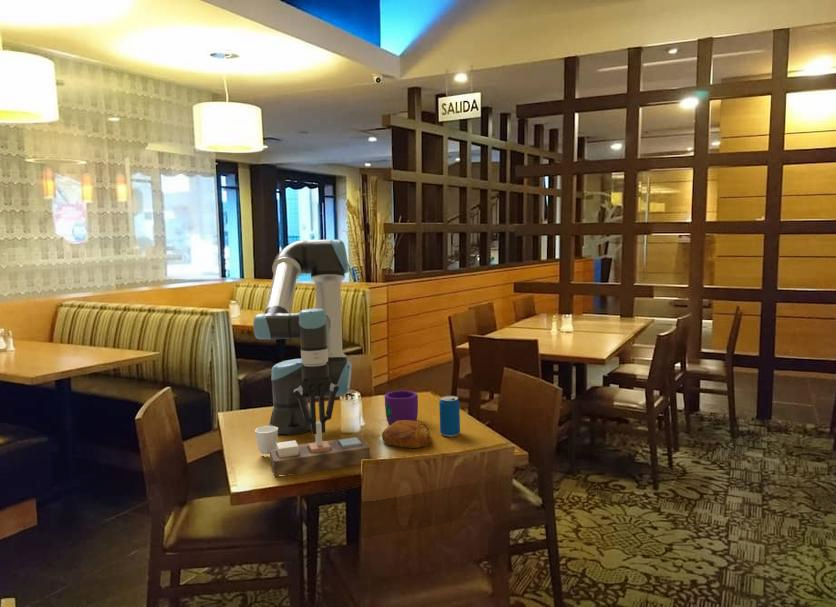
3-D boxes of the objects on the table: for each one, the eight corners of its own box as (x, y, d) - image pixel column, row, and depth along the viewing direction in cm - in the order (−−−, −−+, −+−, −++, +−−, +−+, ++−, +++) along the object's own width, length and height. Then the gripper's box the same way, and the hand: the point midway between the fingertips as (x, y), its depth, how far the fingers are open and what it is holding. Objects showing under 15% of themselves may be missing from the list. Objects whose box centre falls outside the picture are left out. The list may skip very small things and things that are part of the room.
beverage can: (458, 437, 201) (457, 401, 200) (438, 437, 203) (437, 400, 201) (461, 431, 208) (460, 395, 206) (441, 430, 209) (440, 395, 208)
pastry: (417, 459, 190) (419, 434, 188) (374, 445, 197) (375, 421, 196) (440, 443, 202) (442, 420, 201) (398, 430, 210) (400, 407, 208)
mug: (424, 424, 217) (423, 395, 216) (393, 429, 212) (392, 400, 211) (403, 411, 233) (402, 385, 231) (374, 416, 228) (373, 389, 227)
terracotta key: (312, 464, 180) (311, 449, 179) (308, 458, 185) (308, 443, 184) (331, 461, 181) (330, 446, 181) (327, 455, 186) (326, 441, 186)
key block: (274, 477, 174) (273, 461, 173) (270, 463, 184) (269, 448, 183) (370, 462, 182) (369, 447, 182) (361, 450, 193) (360, 436, 192)
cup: (258, 460, 187) (256, 434, 186) (252, 450, 196) (251, 425, 195) (282, 456, 189) (280, 430, 189) (275, 446, 199) (274, 421, 198)
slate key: (343, 460, 182) (342, 445, 182) (339, 454, 188) (338, 440, 187) (361, 457, 184) (361, 443, 184) (357, 451, 189) (356, 437, 189)
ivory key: (279, 464, 176) (278, 448, 176) (277, 457, 182) (276, 442, 181) (299, 461, 178) (298, 446, 178) (296, 455, 183) (295, 440, 183)
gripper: (293, 368, 174) (298, 451, 177) (340, 363, 178) (344, 445, 181) (289, 363, 181) (294, 443, 184) (334, 359, 185) (338, 437, 188)
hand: (319, 444), depth 182 cm, fingers closed
